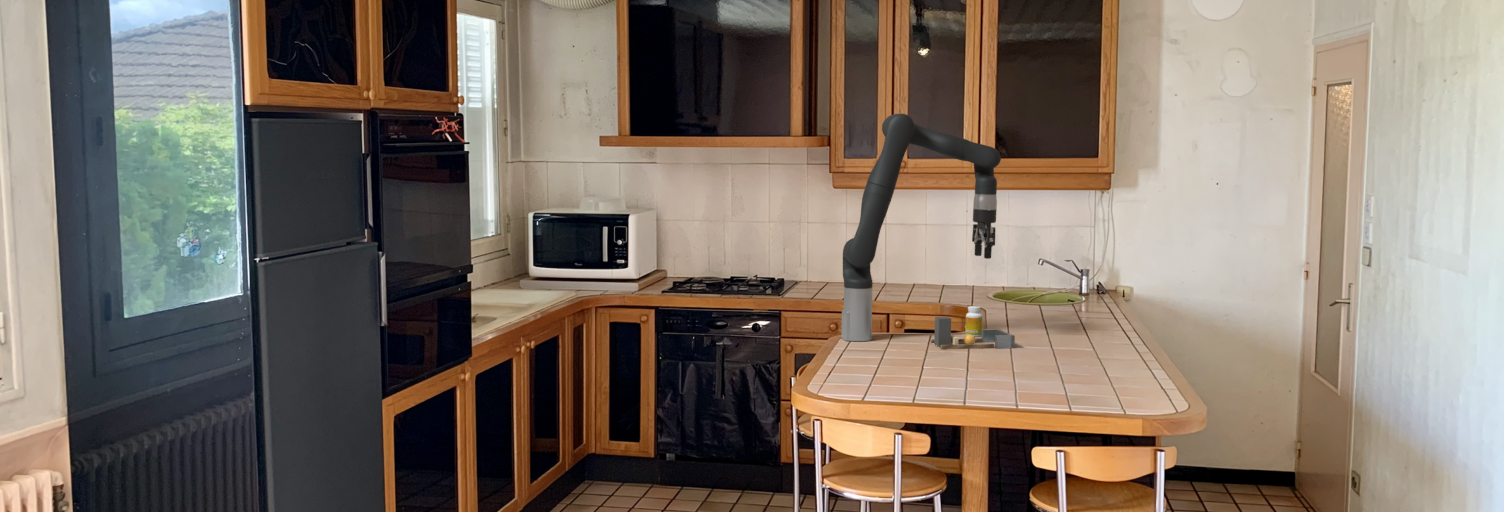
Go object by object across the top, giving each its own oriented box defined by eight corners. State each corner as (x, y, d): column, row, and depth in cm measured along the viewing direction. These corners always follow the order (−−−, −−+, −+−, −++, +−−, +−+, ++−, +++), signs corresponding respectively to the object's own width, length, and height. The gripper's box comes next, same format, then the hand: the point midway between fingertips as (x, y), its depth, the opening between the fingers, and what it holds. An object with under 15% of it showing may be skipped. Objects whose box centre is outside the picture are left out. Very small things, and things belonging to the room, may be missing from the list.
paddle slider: (939, 347, 364) (940, 319, 364) (932, 343, 371) (933, 316, 370) (958, 347, 365) (958, 319, 365) (950, 343, 372) (951, 315, 371)
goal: (996, 348, 364) (996, 336, 364) (981, 341, 377) (981, 329, 377) (1014, 348, 365) (1014, 335, 365) (999, 341, 378) (999, 329, 378)
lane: (941, 349, 362) (941, 345, 362) (930, 343, 373) (930, 339, 373) (994, 348, 365) (994, 344, 365) (981, 342, 376) (981, 338, 376)
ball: (966, 346, 368) (966, 335, 367) (962, 344, 371) (962, 333, 371) (976, 346, 368) (977, 335, 368) (972, 344, 372) (973, 333, 371)
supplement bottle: (981, 337, 386) (982, 308, 385) (965, 336, 387) (965, 307, 386) (981, 334, 391) (982, 306, 390) (965, 334, 392) (966, 305, 391)
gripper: (966, 206, 386) (964, 254, 388) (982, 209, 372) (979, 259, 374) (987, 206, 388) (985, 255, 389) (1004, 209, 374) (1001, 259, 375)
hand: (982, 257), depth 381 cm, fingers open, 8 cm apart
